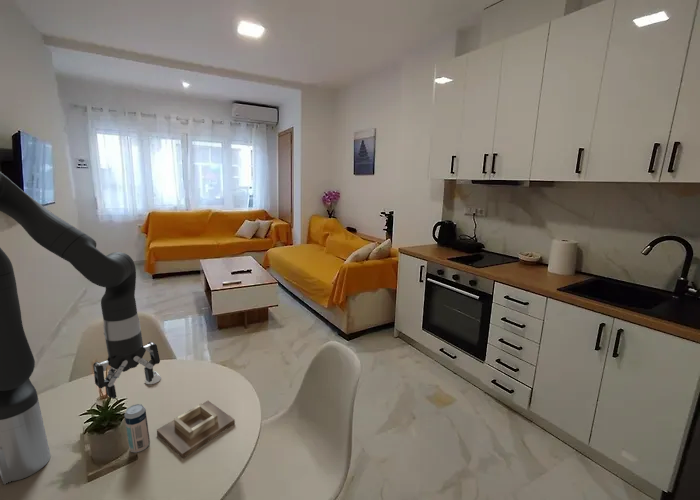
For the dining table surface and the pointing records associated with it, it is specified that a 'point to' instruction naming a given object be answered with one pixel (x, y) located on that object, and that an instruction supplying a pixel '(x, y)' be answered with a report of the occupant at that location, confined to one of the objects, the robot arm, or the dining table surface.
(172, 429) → the board
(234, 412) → the dining table surface
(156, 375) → the white rounded piece
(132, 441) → the beer can
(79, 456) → the dining table surface
